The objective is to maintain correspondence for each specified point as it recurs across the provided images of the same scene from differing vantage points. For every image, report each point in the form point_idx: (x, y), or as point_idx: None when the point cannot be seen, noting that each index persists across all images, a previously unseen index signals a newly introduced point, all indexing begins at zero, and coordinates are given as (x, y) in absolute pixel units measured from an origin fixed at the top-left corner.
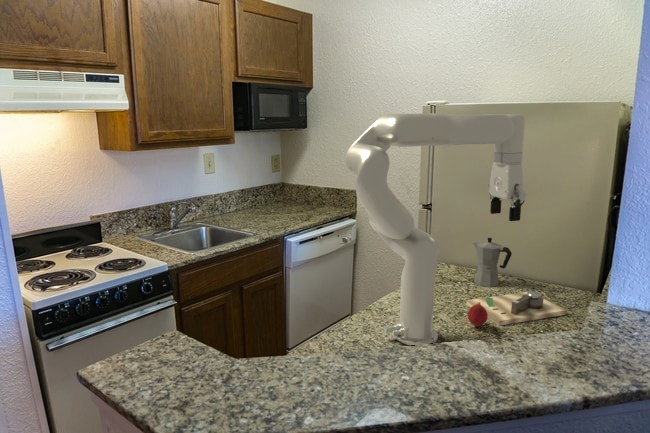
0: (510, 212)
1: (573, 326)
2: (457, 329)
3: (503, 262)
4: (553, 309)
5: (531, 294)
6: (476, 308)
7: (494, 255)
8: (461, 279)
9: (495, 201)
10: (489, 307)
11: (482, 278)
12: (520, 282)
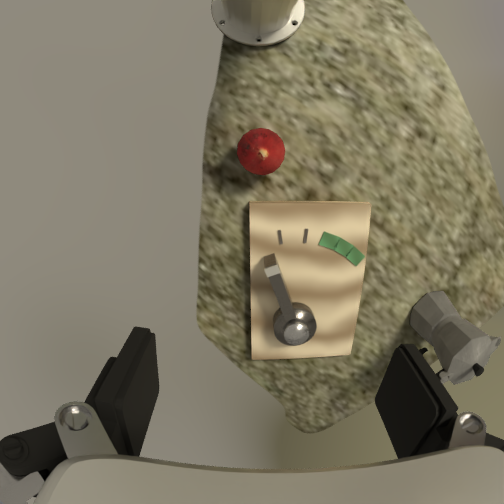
0: (112, 367)
1: (205, 332)
2: (261, 102)
3: None
4: (262, 342)
5: (293, 328)
6: (254, 141)
7: (444, 352)
8: (463, 275)
9: (424, 431)
10: (319, 228)
11: (432, 303)
12: None
